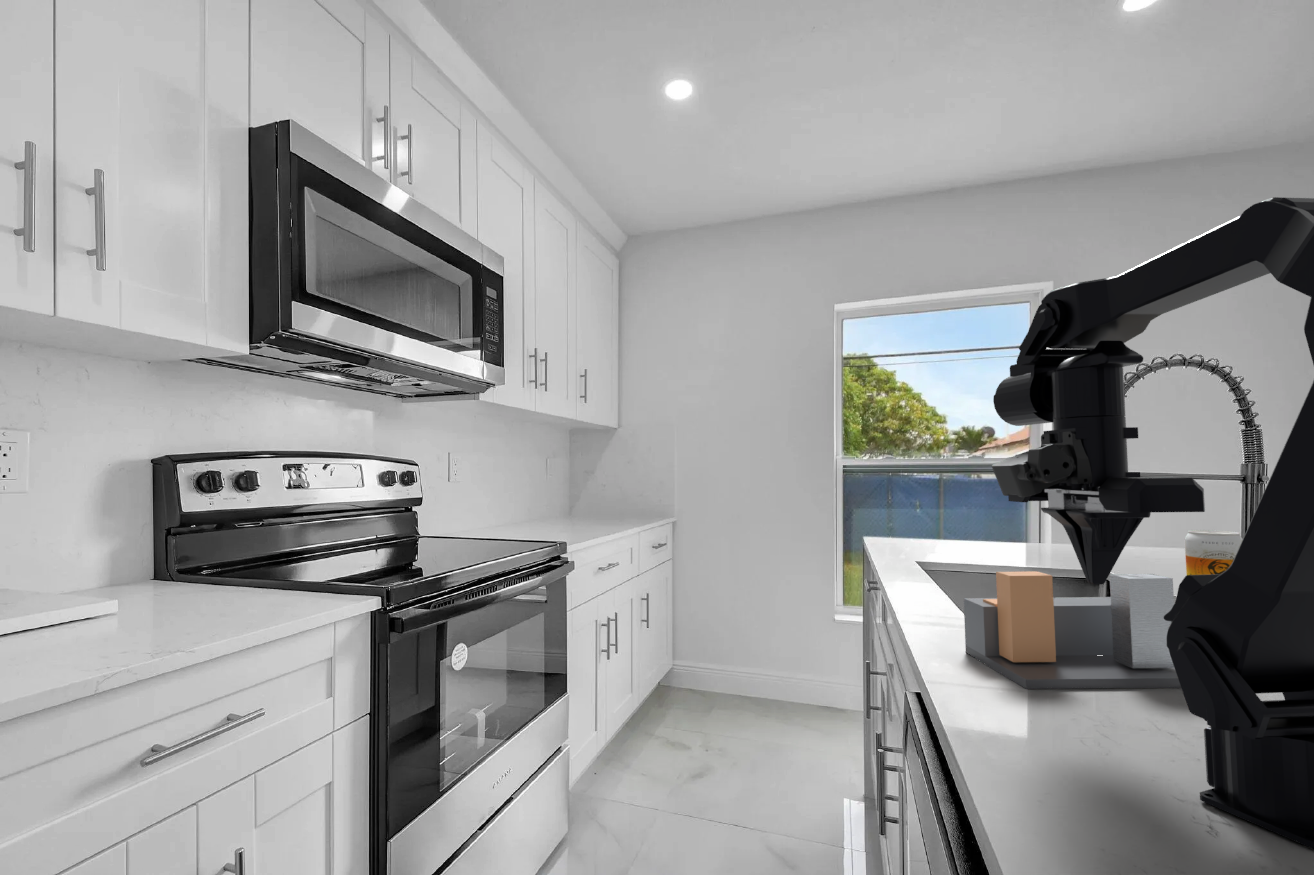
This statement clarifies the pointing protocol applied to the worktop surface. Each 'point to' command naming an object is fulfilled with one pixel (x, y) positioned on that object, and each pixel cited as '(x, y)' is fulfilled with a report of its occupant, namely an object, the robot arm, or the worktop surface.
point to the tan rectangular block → (1026, 616)
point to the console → (1063, 648)
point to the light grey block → (1141, 619)
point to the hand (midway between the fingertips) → (1095, 583)
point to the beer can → (1210, 551)
